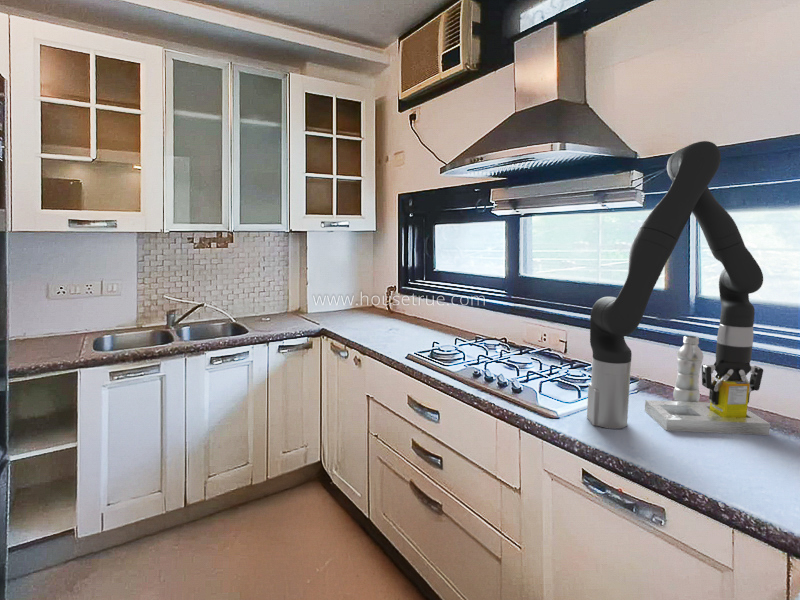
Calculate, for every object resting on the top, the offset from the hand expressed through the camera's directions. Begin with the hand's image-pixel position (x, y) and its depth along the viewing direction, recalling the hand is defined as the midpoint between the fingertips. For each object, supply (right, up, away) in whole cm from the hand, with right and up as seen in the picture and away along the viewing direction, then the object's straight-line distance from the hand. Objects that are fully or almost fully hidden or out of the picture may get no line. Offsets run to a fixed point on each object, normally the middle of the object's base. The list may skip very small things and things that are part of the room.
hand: (728, 404), depth 124 cm
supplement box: (0, -4, +1) cm, 4 cm away
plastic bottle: (-2, -3, +15) cm, 15 cm away
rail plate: (-6, -5, +1) cm, 8 cm away
